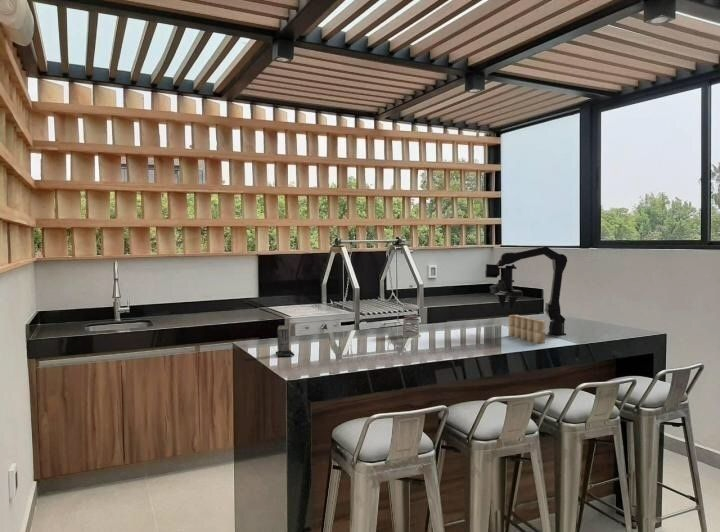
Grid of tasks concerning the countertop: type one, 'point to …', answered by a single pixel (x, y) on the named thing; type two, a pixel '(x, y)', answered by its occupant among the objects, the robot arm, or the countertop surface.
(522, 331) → the domino
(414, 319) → the french press
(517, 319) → the domino
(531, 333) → the domino
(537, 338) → the domino
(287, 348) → the gray block on base
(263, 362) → the countertop surface
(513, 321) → the domino
